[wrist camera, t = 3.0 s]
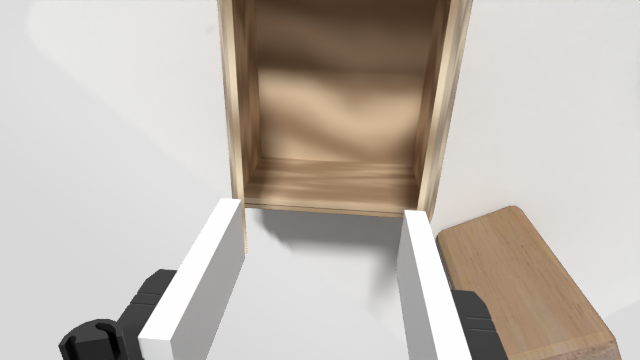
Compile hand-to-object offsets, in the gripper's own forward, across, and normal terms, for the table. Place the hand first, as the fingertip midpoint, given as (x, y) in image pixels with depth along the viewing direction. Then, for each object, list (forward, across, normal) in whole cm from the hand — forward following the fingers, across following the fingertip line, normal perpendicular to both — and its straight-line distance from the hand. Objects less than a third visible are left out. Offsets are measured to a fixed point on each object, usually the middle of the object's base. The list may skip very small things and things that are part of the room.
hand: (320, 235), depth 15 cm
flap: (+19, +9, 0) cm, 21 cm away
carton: (+29, 0, 0) cm, 29 cm away
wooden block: (+29, +19, -20) cm, 40 cm away
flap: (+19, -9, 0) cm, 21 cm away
